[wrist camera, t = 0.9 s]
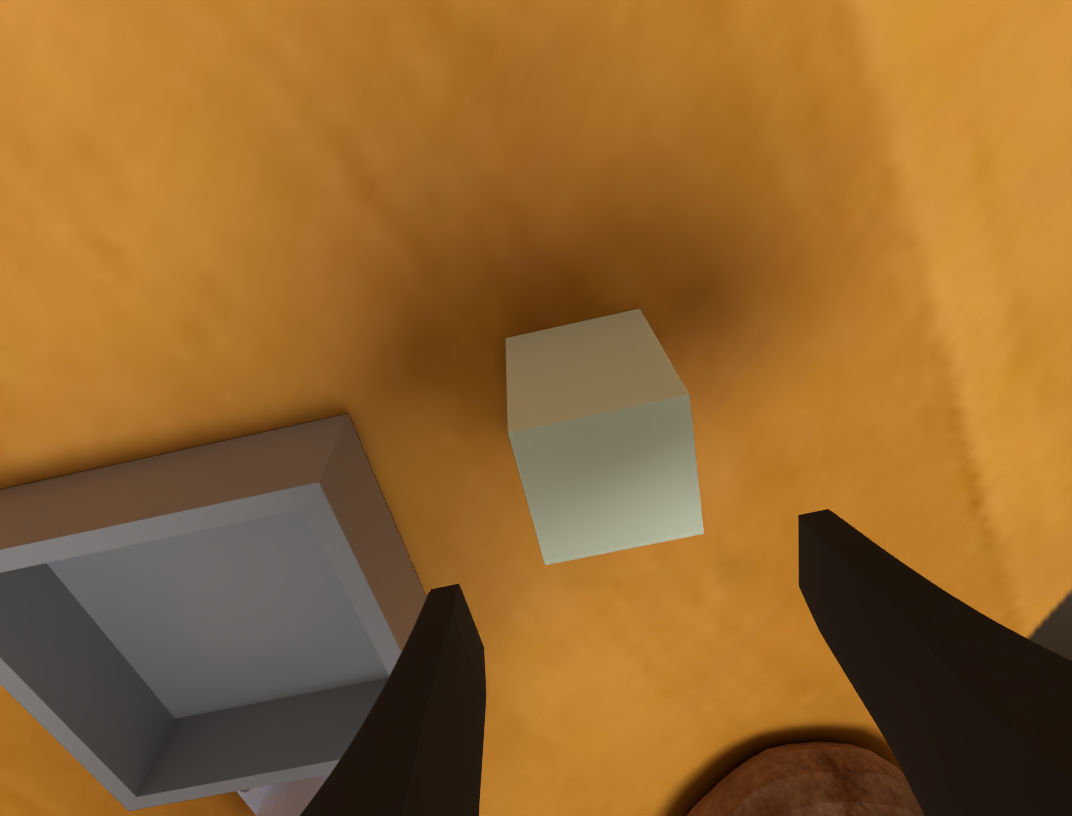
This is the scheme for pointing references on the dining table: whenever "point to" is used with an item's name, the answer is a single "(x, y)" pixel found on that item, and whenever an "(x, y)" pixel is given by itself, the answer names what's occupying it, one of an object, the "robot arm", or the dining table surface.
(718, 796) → the bread
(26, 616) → the bin
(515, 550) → the dining table surface
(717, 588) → the dining table surface
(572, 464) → the block
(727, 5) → the dining table surface
